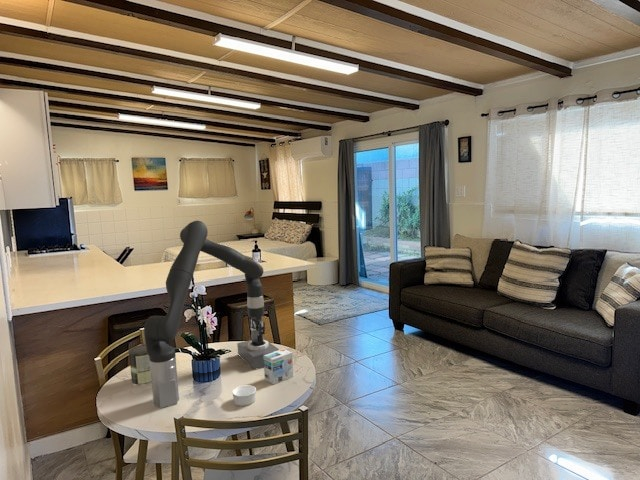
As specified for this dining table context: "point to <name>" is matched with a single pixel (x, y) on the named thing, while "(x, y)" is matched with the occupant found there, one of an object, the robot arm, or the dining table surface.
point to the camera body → (255, 352)
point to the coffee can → (140, 366)
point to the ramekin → (244, 395)
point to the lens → (255, 337)
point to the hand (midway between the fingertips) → (257, 340)
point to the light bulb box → (278, 366)
